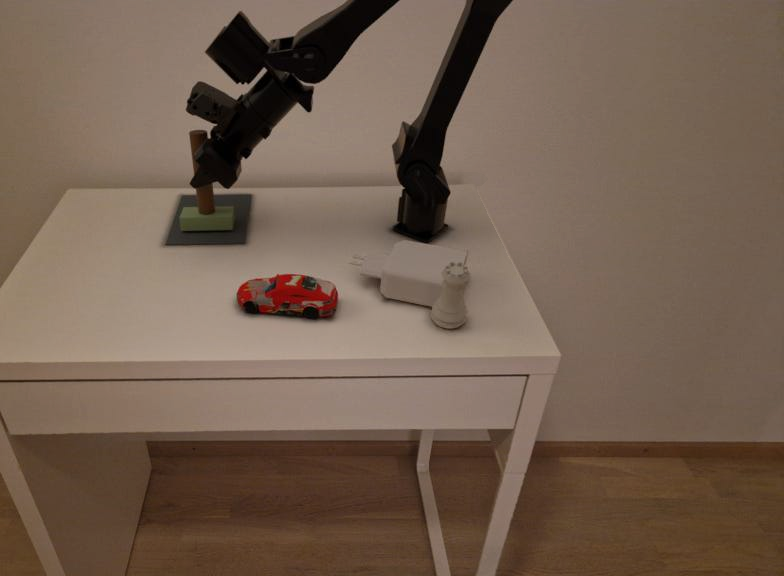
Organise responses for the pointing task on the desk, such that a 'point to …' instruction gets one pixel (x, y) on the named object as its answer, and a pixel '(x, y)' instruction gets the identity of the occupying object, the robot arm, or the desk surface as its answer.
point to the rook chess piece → (451, 297)
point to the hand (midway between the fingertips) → (194, 181)
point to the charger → (411, 270)
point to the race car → (289, 295)
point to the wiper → (205, 200)
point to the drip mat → (212, 236)
